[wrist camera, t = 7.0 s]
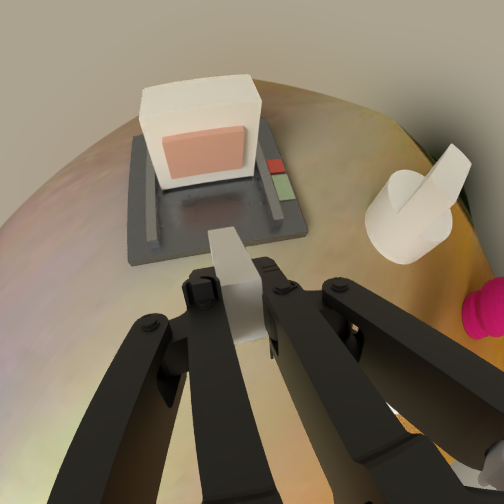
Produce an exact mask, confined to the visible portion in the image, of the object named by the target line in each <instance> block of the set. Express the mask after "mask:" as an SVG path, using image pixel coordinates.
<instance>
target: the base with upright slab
mask: <svg viewBox="0 0 504 504" xmlns="http://www.w3.org/2000/svg"><path fill="white" fill-rule="evenodd" d="M470 167H471V162H470V161H469V160H468V159H467V157H466V156H465V155H464V154H463V153H462V152H461V151H460V150H459V149H458V148H456V147H455V146H454V145H453V144H451V145H450V146H449V147H448V149H447V150H446V151H445V152H444V154H443V155H442V156H441V158H440V159H439V160H438V161H437V163H436V164H435V165H434V166H433V168H432V169H431V170H430V171H429V173H428V174H427V175H426V176H423V175H421V174H420V173H417V172H414V171H412V170H399V171H396V172H395V173H393V174H392V175H391V177H390V178H389V179H388V181H387V182H386V184H385V185H384V186H383V188H382V189H381V191H380V192H379V193H378V195H377V196H376V197H375V199H374V200H373V201H372V203H371V204H370V206H369V207H368V209H367V211H366V215H365V227H366V231H367V234H368V236H369V238H370V240H371V242H372V244H373V245H374V247H375V248H376V249H377V250H378V252H379V253H381V254H382V255H383V256H384V257H385V258H387V259H389V260H390V261H392V262H394V263H398V264H411V263H413V262H415V261H417V260H418V259H419V258H421V257H422V256H424V255H425V254H426V253H428V252H429V251H431V250H432V249H433V248H435V247H436V246H437V245H439V244H440V243H441V242H443V241H444V240H445V239H446V238H447V237H448V236H449V234H450V233H451V229H452V215H451V210H450V207H451V206H452V205H453V204H454V203H455V202H456V200H457V198H458V195H459V193H460V191H461V189H462V186H463V184H464V181H465V179H466V177H467V174H468V172H469V169H470Z"/></svg>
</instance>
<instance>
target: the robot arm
mask: <svg viewBox="0 0 504 504" xmlns="http://www.w3.org/2000/svg"><path fill="white" fill-rule="evenodd" d="M208 237H209V243H210V249H211V255H212V261H213V267H208V268H202V269H196V270H193V271H192V273H191V274H190V275H189V279H187V280H186V281H185V282H184V283H183V285H182V290H183V294H184V298H185V302H186V306H187V311H186V312H185V313H184V314H182V315H181V316H179V317H176V318H174V319H171V320H168V319H167V317H166V316H165V315H163V314H158V313H154V314H147V315H145V316H142V317H141V318H139V319H138V320H137V321H136V322H135V323H134V324H133V326H132V327H131V329H130V331H129V333H128V334H127V336H126V338H125V339H124V341H123V343H122V345H121V346H120V348H119V350H118V352H117V354H116V355H115V357H114V359H113V361H112V363H111V364H110V366H109V368H108V370H107V372H106V374H105V375H104V377H103V379H102V381H101V383H100V385H99V387H98V389H97V391H96V393H95V394H94V396H93V398H92V400H91V402H90V404H89V406H88V408H87V410H86V412H85V414H84V417H83V419H82V421H81V423H80V425H79V427H78V429H77V431H76V433H75V436H74V438H73V440H72V442H71V444H70V447H69V449H68V451H67V453H66V456H65V458H64V460H63V463H62V465H61V468H60V470H59V473H58V475H57V478H56V480H55V483H54V485H53V488H52V491H51V493H50V496H49V499H48V502H47V504H156V500H157V496H158V491H159V486H160V482H161V478H162V473H163V469H164V465H165V460H166V456H167V452H168V448H169V444H170V439H171V435H172V431H173V427H174V423H175V419H176V415H177V411H178V408H179V404H180V400H181V396H182V392H183V388H184V385H185V381H186V377H187V372H188V371H189V376H190V391H191V404H192V415H193V426H194V435H195V444H196V452H197V460H198V467H199V474H200V481H201V487H202V495H203V501H202V503H201V504H283V502H282V499H281V497H280V494H279V492H278V490H277V488H276V486H275V483H274V480H273V477H272V474H271V471H270V468H269V465H268V462H267V459H266V455H265V452H264V449H263V446H262V442H261V439H260V436H259V433H258V429H257V426H256V422H255V419H254V416H253V412H252V409H251V405H250V402H249V398H248V395H247V391H246V387H245V384H244V380H243V376H242V373H241V369H240V365H239V361H238V358H237V354H236V350H235V346H234V344H238V343H243V342H248V341H253V340H258V339H262V338H267V336H266V330H267V332H268V334H269V343H270V355H271V359H274V357H275V360H276V362H277V364H278V367H279V369H280V372H281V374H282V376H283V379H284V381H285V384H286V386H287V388H288V391H289V393H290V395H291V398H292V400H293V403H294V405H295V407H296V410H297V412H298V414H299V417H300V419H301V421H302V424H303V426H304V428H305V430H306V433H307V435H308V437H309V440H310V442H311V444H312V447H313V449H314V451H315V453H316V456H317V458H318V460H319V462H320V465H321V467H322V469H323V471H324V474H325V476H326V478H327V480H328V483H329V485H330V487H331V489H332V492H333V497H334V504H504V372H503V371H501V370H500V369H498V368H497V367H495V366H493V365H492V364H490V363H489V362H487V361H486V360H484V359H482V358H481V357H479V356H478V355H476V354H475V353H473V352H471V351H470V350H468V349H467V348H465V347H463V346H462V345H460V344H459V343H457V342H455V341H454V340H452V339H450V338H449V337H447V336H446V335H444V334H442V333H441V332H439V331H437V330H436V329H434V328H432V327H431V326H429V325H427V324H426V323H424V322H422V321H421V320H419V319H417V318H416V317H414V316H412V315H411V314H409V313H407V312H406V311H404V310H402V309H400V308H399V307H397V306H395V305H394V304H392V303H390V302H389V301H387V300H385V299H383V298H382V297H380V296H378V295H376V294H375V293H373V292H371V291H370V290H368V289H366V288H364V287H363V286H361V285H359V284H357V283H356V282H354V281H352V280H349V279H346V278H342V277H338V278H337V277H336V278H332V279H328V280H327V281H325V282H324V283H323V285H322V290H318V291H306V290H303V289H302V287H301V286H300V285H299V284H298V283H297V282H294V281H291V280H287V278H286V277H285V275H284V274H283V273H282V271H281V270H280V268H279V267H278V266H277V264H276V263H275V261H274V260H273V259H271V258H269V257H260V258H255V259H251V258H250V256H249V255H248V253H247V251H246V249H245V247H244V245H243V243H242V241H241V239H240V238H239V236H238V234H237V232H236V230H235V228H234V226H233V227H227V228H221V229H215V230H209V231H208ZM353 324H354V325H356V326H357V327H358V328H359V329H358V332H357V331H355V330H354V329H352V326H353ZM273 355H274V357H273ZM388 404H389V405H390V406H391V407H392V408H393V409H394V410H396V411H397V412H398V413H399V414H400V415H402V416H403V417H404V418H405V419H406V420H408V421H409V422H410V423H411V424H412V425H414V426H415V427H416V428H417V429H418V430H420V431H421V432H422V433H423V434H424V435H423V434H411V433H409V432H407V431H406V429H405V428H404V427H403V426H402V424H401V423H400V421H399V420H398V418H397V417H396V416H395V414H394V413H393V411H392V410H391V409H390V407H389V406H388ZM425 435H426V436H425ZM431 440H432V441H433V442H434V443H435V444H437V445H438V446H439V447H440V448H442V449H443V450H444V451H445V452H447V453H448V454H449V455H450V456H452V457H453V458H455V459H456V460H457V461H459V462H461V463H462V464H464V465H466V466H468V467H471V468H473V469H477V470H480V471H481V473H480V474H479V477H478V482H479V484H480V485H481V486H487V485H489V484H490V485H491V486H493V487H495V488H496V489H497V491H496V490H488V489H481V488H474V487H468V486H464V485H463V484H462V483H461V481H460V480H459V478H458V477H457V475H456V474H455V472H454V471H453V470H452V468H451V467H450V465H449V464H448V462H447V461H446V460H445V458H444V457H443V455H442V454H441V453H440V451H439V450H438V448H437V447H436V446H435V444H434V443H433V442H432V441H431Z"/></svg>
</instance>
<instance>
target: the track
mask: <svg viewBox="0 0 504 504" xmlns="http://www.w3.org/2000/svg"><path fill="white" fill-rule="evenodd" d="M233 226H234V228H235V230H236V232H237V234H238V236H239V238H240V239H241V241H242V243H243V245H244V247H246V246H252V245H258V244H264V243H270V242H276V241H282V240H288V239H294V238H300V237H305V236H306V234H307V232H308V230H307V227H306V224H305V221H304V218H303V215H302V212H301V209H300V206H299V204H298V201H297V198H296V195H295V192H294V190H293V187H292V184H291V181H290V179H289V176H288V173H287V171H286V168H285V165H284V163H283V160H282V158H281V155H280V152H279V150H278V147H277V145H276V142H275V140H274V137H273V135H272V132H271V130H270V127H269V125H268V123H267V120H266V118H265V117H261V118H260V122H259V131H258V140H257V148H256V157H255V166H254V175H253V176H247V177H239V178H232V179H225V180H218V181H212V182H205V183H199V184H193V185H187V186H181V187H176V188H170V189H165V190H161V187H160V184H159V181H158V178H157V175H156V172H155V169H154V166H153V163H152V160H151V157H150V154H149V151H148V147H147V144H146V141H145V138H144V134H143V135H139V136H134V137H133V142H132V151H131V162H130V175H129V191H128V222H127V244H128V263H129V264H130V265H131V266H137V265H142V264H148V263H154V262H159V261H165V260H171V259H177V258H182V257H188V256H194V255H200V254H205V253H211V249H210V243H209V237H208V231H209V230H215V229H221V228H227V227H233Z"/></svg>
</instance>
